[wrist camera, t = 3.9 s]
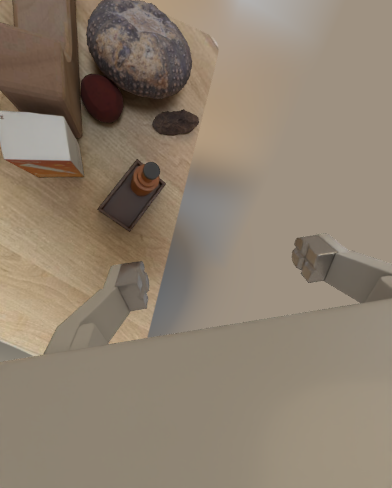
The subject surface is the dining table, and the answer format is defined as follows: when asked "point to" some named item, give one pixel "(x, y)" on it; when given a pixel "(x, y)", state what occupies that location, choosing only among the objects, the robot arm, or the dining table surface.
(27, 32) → the decorative block
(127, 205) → the tray
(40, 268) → the dining table surface
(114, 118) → the potato
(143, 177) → the tray bottle
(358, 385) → the robot arm
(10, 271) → the dining table surface
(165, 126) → the stone
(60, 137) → the small box
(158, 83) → the sea urchin shell
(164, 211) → the dining table surface
